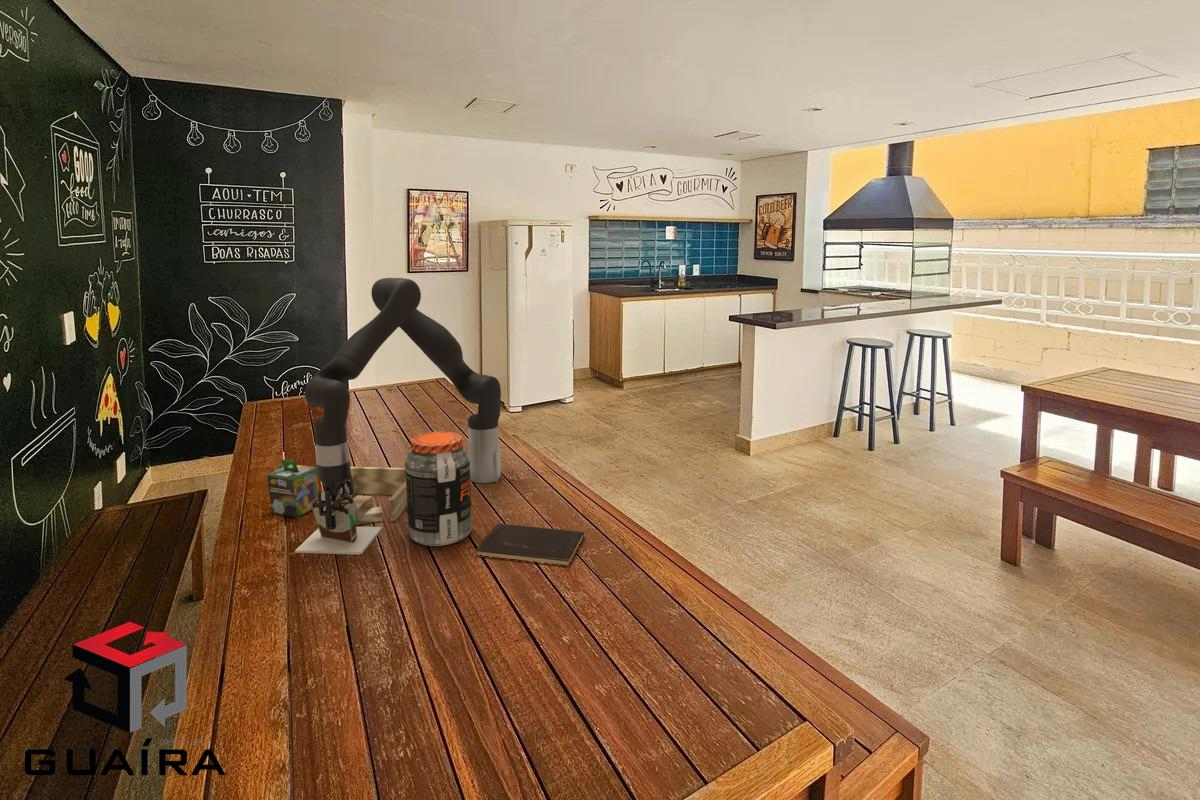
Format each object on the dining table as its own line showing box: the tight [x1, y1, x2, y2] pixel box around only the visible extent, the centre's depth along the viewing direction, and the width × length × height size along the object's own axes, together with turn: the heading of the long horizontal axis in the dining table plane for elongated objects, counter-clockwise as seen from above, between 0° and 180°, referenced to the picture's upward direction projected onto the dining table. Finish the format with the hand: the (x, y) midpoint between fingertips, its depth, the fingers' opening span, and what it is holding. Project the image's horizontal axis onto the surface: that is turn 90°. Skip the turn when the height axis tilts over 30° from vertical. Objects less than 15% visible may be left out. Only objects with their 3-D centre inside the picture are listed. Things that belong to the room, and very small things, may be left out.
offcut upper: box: [353, 494, 374, 519], centre depth 174 cm, size 8×4×3 cm, turn 172°
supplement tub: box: [404, 431, 473, 547], centre depth 165 cm, size 16×16×26 cm
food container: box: [310, 494, 357, 543], centre depth 164 cm, size 12×6×10 cm, turn 71°
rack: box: [348, 466, 407, 522], centre depth 184 cm, size 19×19×8 cm
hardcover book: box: [474, 522, 585, 566], centre depth 162 cm, size 16×23×2 cm
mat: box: [294, 525, 383, 556], centre depth 164 cm, size 16×14×1 cm
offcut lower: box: [355, 506, 384, 526], centre depth 175 cm, size 12×4×3 cm, turn 112°
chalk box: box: [266, 458, 320, 518], centre depth 180 cm, size 9×9×15 cm
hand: (338, 521), depth 163 cm, fingers open, 8 cm apart
